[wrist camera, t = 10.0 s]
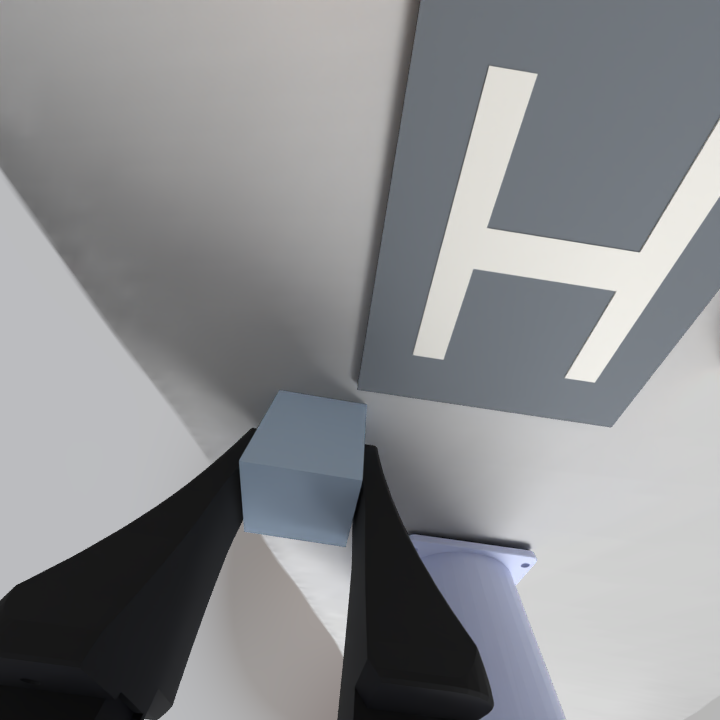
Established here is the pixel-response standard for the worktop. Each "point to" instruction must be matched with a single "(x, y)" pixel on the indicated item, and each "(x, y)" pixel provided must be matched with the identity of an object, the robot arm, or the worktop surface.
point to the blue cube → (304, 469)
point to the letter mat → (548, 204)
